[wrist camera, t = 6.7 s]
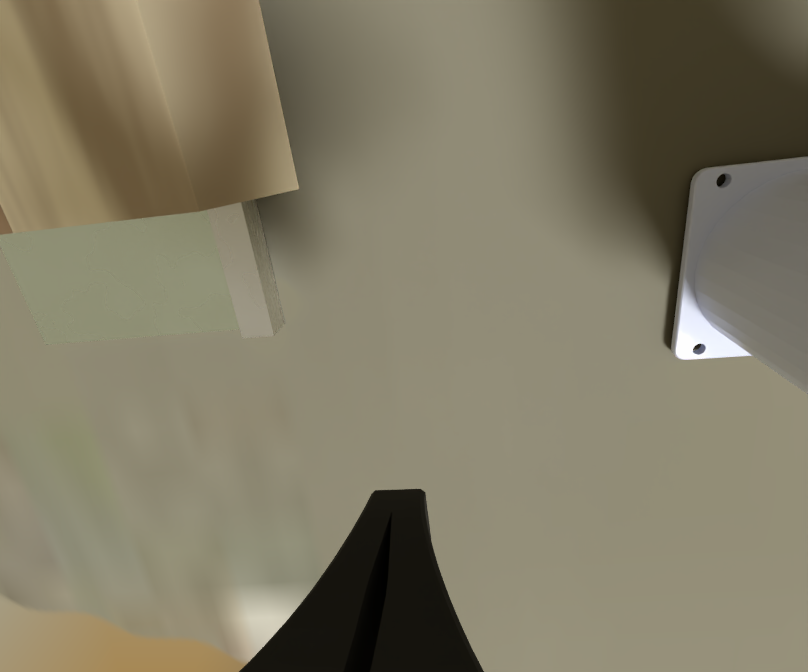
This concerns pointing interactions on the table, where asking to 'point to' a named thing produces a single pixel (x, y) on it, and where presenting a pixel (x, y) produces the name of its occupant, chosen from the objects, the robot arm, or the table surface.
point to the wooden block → (135, 110)
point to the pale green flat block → (149, 276)
